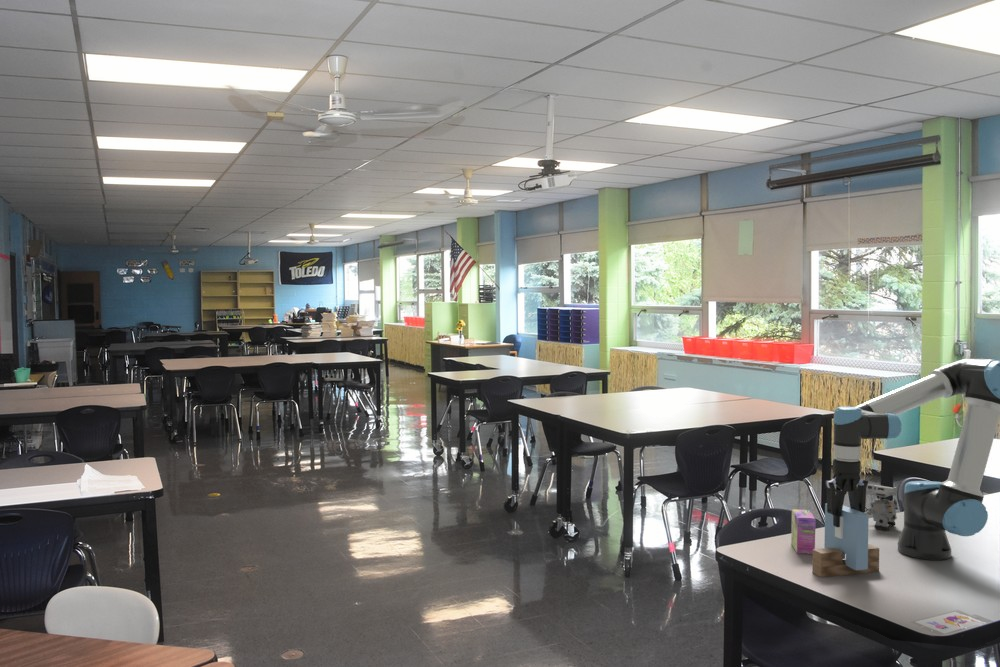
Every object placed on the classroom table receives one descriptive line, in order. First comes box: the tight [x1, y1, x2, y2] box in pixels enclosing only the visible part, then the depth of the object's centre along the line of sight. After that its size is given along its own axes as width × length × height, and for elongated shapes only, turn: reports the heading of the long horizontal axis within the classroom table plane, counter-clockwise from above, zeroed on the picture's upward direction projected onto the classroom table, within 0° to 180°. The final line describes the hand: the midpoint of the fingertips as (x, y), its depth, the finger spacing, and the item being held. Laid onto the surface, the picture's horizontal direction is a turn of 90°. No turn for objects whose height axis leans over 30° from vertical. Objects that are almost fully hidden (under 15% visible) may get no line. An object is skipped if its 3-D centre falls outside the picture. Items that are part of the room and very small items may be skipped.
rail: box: [811, 543, 880, 578], centre depth 228 cm, size 20×4×7 cm, turn 104°
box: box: [790, 508, 817, 555], centre depth 250 cm, size 10×6×12 cm, turn 168°
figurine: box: [864, 483, 899, 532], centre depth 276 cm, size 9×12×15 cm
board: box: [824, 503, 870, 570], centre depth 228 cm, size 14×4×16 cm, turn 14°
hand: (845, 536), depth 228 cm, fingers closed on board, 4 cm apart
